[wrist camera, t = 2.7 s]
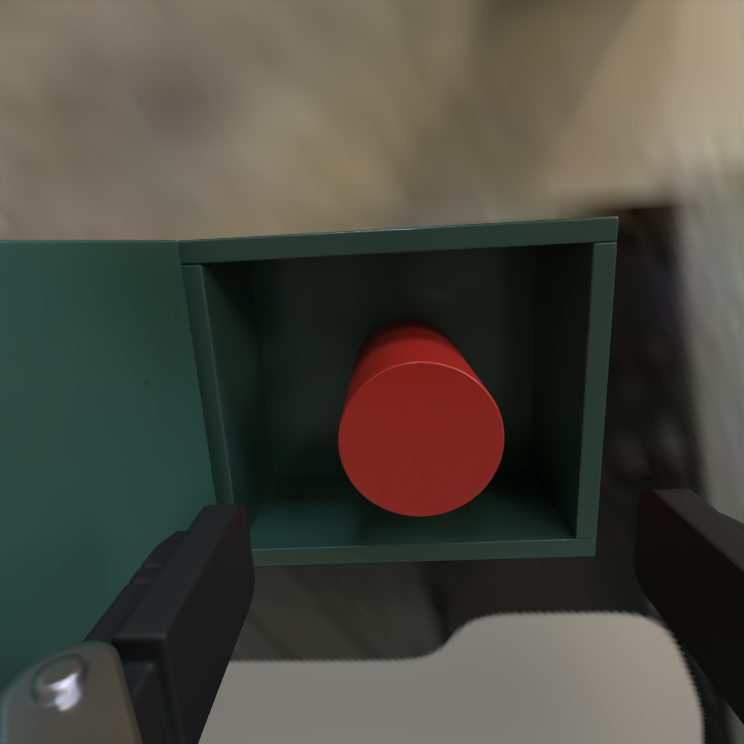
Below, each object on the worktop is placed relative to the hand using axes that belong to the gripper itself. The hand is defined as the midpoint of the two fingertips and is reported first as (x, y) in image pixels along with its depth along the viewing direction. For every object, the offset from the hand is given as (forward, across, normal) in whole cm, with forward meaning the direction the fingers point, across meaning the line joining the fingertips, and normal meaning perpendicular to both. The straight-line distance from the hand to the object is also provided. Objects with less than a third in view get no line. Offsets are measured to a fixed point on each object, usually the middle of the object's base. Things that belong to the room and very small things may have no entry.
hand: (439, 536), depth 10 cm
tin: (+14, 0, 0) cm, 14 cm away
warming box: (+15, 0, 0) cm, 15 cm away
